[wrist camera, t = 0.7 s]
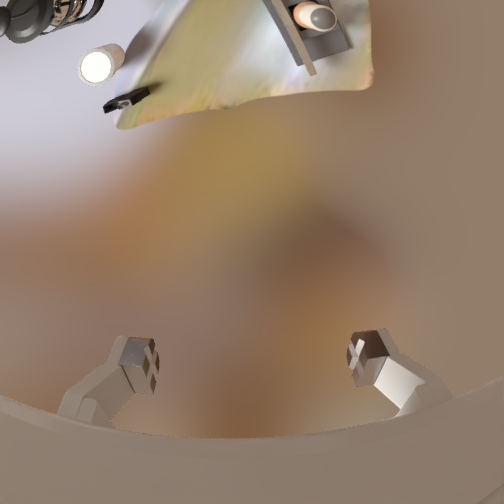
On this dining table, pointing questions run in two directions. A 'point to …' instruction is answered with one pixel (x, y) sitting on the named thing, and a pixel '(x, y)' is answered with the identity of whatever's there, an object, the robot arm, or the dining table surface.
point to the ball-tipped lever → (294, 36)
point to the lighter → (126, 100)
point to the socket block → (309, 33)
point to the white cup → (100, 64)
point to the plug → (314, 16)
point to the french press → (41, 17)
